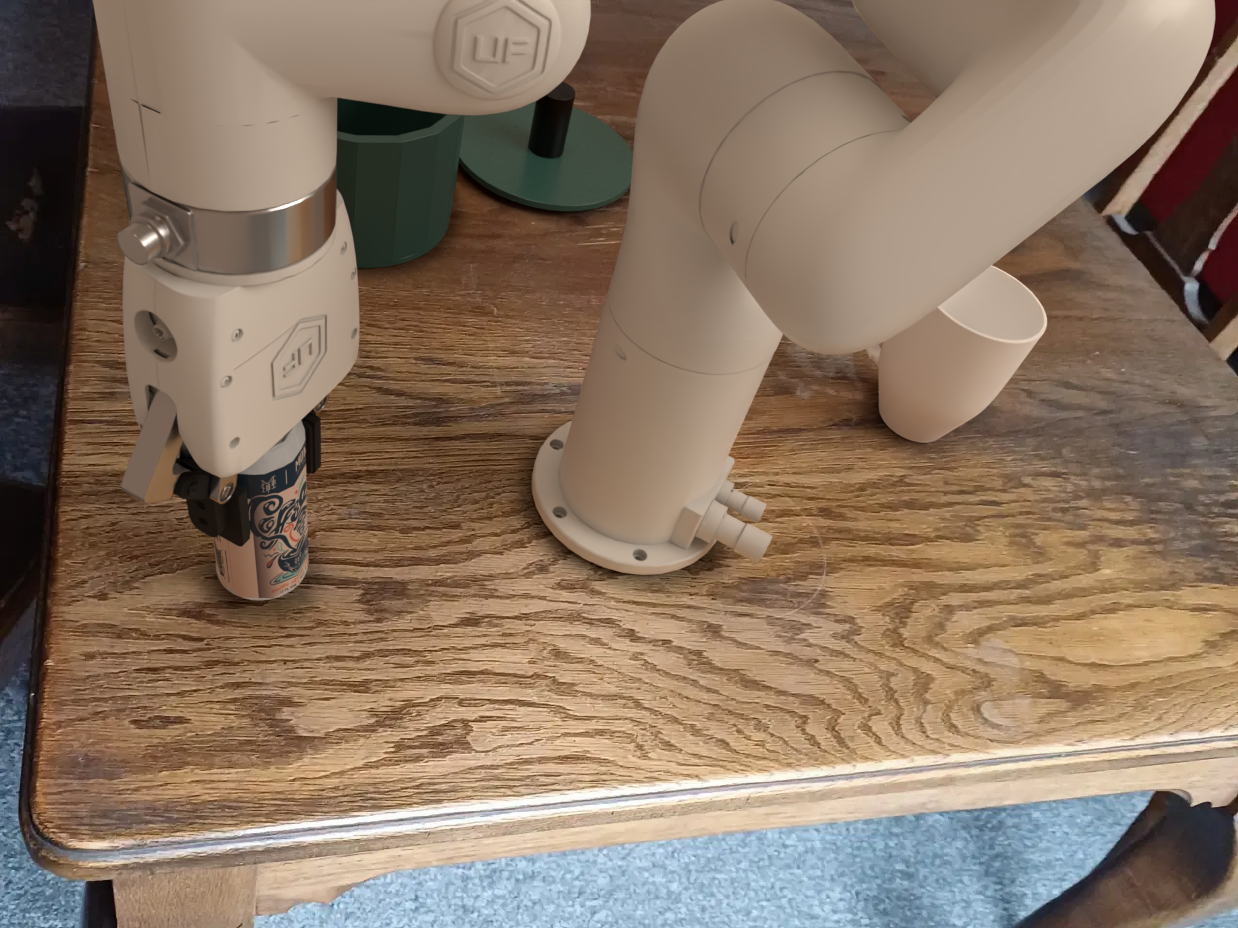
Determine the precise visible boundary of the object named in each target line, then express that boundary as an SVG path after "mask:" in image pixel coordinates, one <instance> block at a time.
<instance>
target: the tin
mask: <svg viewBox="0 0 1238 928" xmlns="http://www.w3.org/2000/svg"><path fill="white" fill-rule="evenodd" d="M464 117H465V115H453V114H441V113H434V112H426V111H420V110H413V109H407V108H401V107H395V106H389V105H383V104H376V103H370V102H363V101H356V100H350V99H343V98H337V154H336V156H337V190H338V191H339V192H340V194H341V196H342V198H343V201H344V204H345V207H346V210H347V214H348V217H349V222H350V226H351V231H352V235H353V241H354V248H355V255H356V264H357V269H379V268H386V267H387V268H388V267H392V266H393V267H394V266H397V265H402V264H405V263H409V262H411V261H413V260H416V259H418V258H420V257H422V256H424V255H426V254H428V253H429V252H430V251H432V250H433V249H434V248H436V247H437V245H439V244H440V242H441V241H443V238H444V237H445V236H446V234H447V232H448V229H449V226H450V222H451V221H450V220H451V217H452V213H453V210H454V209H453V208H454V200H455V193H456V185H457V179H458V172H459V171H458V170H459V155H460V148H461V140H462V132H463V125H464Z"/></svg>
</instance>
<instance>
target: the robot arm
mask: <svg viewBox="0 0 1238 928" xmlns="http://www.w3.org/2000/svg"><path fill="white" fill-rule="evenodd" d="M850 2H851V4H852V6H853V8H854V10H855V11H856V13H857V14H858V15H859V16H860V18H861V19H862V21H863V22H864V23H865V24H866V25H867V27H868V28H869V29H870V31H871V32H872V33H873V34H874V35H875V37H877V39H878V40H879V41H880V42H881V44H883V45H884V47H885V48H886V49H887V50H888V51H889V52H890V53H891V54H892V55H893V56H894V57H895V59H897V60H898V61H899V62H900V63H901V64H902V65H903V67H904V68H905V69H907V70H908V72H909V73H911V74H912V75H913V77H915V79H917V80H918V81H919V82H920V84H922V85H923V87H925V88H926V89H927V91H928V92H930V93H931V94H932V95H933V96H934V97H935V100H934V101H933V102H932V103H931V104H930V105H929V106H927V107H926V108H925V109H924V110H923V111H922V112H921V113H920V114H919V115H918V116H917V117H915V119H913V120H911V118H909V116H908V115H907V114H906V113H905V112H904V111H903V110H902V109H901V108H900V107H899V106H898V104H896V103H895V102H894V101H893V100H892V99H891V98H890V97H889V95H888V94H887V93H886V90H885V89H884V88H883V87H882V86H881V85H880V84H879V83H878V82H877V81H876V80H875V79H874V77H872V76H871V74H869V73H868V72H867V71H866V70H865V69H864V68H863V66H862V65H860V63H859V62H858V61H856V59H855V58H854V57H853V56H852V55H851V54H850V52H848V50H846V49H845V47H843V46H842V44H840V43H839V42H838V41H837V40H836V39H835V37H834V36H832V35H831V34H830V33H829V32H828V31H826V30H825V29H824V27H822V26H821V25H820V24H818V23H817V22H816V21H815V20H814V19H812V18H810V17H809V16H807V15H806V14H804V13H802V12H801V11H800V10H798V9H796V8H794V7H793V6H790V5H788V4H786V3H783V2H781V1H778V0H719V1H716V2H714V3H711V4H709V5H707V6H705V7H703V8H702V9H699V11H697V12H695V13H694V14H692V15H691V16H690V17H688V18H687V19H686V20H684V22H682V23H681V24H680V25H679V26H678V27H677V28H676V29H675V30H674V32H672V34H671V35H670V36H669V37H668V38H667V40H666V42H664V44H663V46H662V47H661V48H660V50H659V51H658V53H657V55H656V56H655V58H654V60H653V62H652V64H651V66H650V67H649V71H648V74H647V76H646V78H645V82H644V85H643V89H642V92H641V95H640V98H639V99H640V100H639V103H638V108H637V114H636V120H635V126H634V136H633V150H632V153H633V161H632V175H631V186H630V188H629V190H630V191H629V199H628V205H627V210H626V211H627V213H626V218H625V223H624V229H623V234H622V236H621V237H622V238H621V242H620V245H619V250H618V254H617V257H616V262H615V265H614V268H613V272H612V276H611V280H610V282H609V286H608V289H607V293H606V297H605V300H604V304H603V308H602V311H601V314H600V318H599V322H598V325H597V329H596V331H595V332H596V333H595V337H594V339H593V344H592V347H591V351H590V355H589V358H588V361H587V366H586V369H585V372H584V375H583V380H582V383H581V387H580V390H579V394H578V398H577V401H576V405H575V408H574V413H573V416H572V419H571V420H569V421H567V422H566V423H564V424H563V425H560V426H559V427H557V428H556V429H555V430H554V431H553V432H552V433H551V434H550V435H548V436H547V438H546V439H545V441H544V442H543V443H542V445H541V446H540V447H539V450H538V453H537V455H536V457H535V460H534V465H533V468H532V474H531V493H532V498H533V501H534V505H535V508H536V510H537V512H538V514H539V516H540V518H541V521H542V522H543V523H544V524H545V526H546V527H547V529H548V530H549V531H550V532H551V533H552V535H553V536H554V537H555V538H556V539H557V540H558V541H559V542H560V543H561V544H563V545H564V546H565V547H566V548H567V549H568V550H570V551H571V552H573V553H574V554H576V555H578V556H580V557H581V558H582V559H584V560H586V561H588V562H591V563H593V564H595V565H597V566H599V567H601V568H604V569H608V570H612V571H614V572H615V571H616V572H619V573H622V574H629V575H630V574H631V575H639V576H640V575H641V576H645V575H662V574H667V573H672V572H675V571H679V570H681V569H684V568H686V567H688V566H690V565H692V564H695V563H696V562H697V561H699V560H700V559H701V558H703V557H704V556H705V555H707V553H708V552H709V551H710V550H711V549H712V547H713V546H714V545H715V544H716V543H717V541H718V542H719V543H721V544H723V545H725V546H727V547H729V548H731V549H732V552H735V553H736V554H738V555H740V556H742V557H744V558H745V559H747V560H750V561H751V562H754V563H756V564H758V565H759V564H760V563H761V560H762V559H763V557H764V555H765V553H766V551H767V549H768V548H769V546H770V543H771V541H772V539H774V535H772V534H770V533H768V532H766V531H764V530H762V529H760V528H758V527H757V526H755V525H753V524H751V523H749V522H747V523H745V522H744V521H742V520H740V519H738V518H736V517H734V516H732V515H730V514H729V513H728V509H729V510H732V511H734V512H736V513H738V514H739V516H741V517H743V518H745V519H747V520H749V521H751V522H753V523H754V524H758V523H759V521H760V519H761V518H762V515H763V514H764V511H765V510H766V508H767V506H768V504H767V503H765V502H763V501H760V500H759V499H757V498H756V497H754V496H751V495H747V494H745V493H743V492H742V491H739V490H738V489H735V488H734V487H735V485H736V484H735V483H734V482H732V481H731V480H729V479H728V477H729V475H730V473H731V471H732V469H733V466H734V464H735V463H736V459H735V458H733V457H732V456H730V455H729V454H730V452H731V450H732V448H733V445H734V443H735V441H736V439H737V437H738V435H739V431H740V430H741V428H742V425H743V424H744V421H745V419H746V416H747V414H748V413H749V410H750V408H751V406H752V403H753V401H754V399H755V397H756V394H757V392H758V390H759V388H760V385H761V384H762V381H763V379H764V376H765V374H766V372H767V369H768V367H769V365H770V363H771V361H772V359H773V356H774V355H775V353H776V351H777V349H778V347H779V345H780V343H781V340H782V338H783V336H785V338H787V339H788V340H789V341H791V342H792V343H794V344H795V345H796V346H798V347H801V348H803V349H805V350H807V351H809V352H812V353H817V354H821V355H826V356H843V355H849V354H855V353H858V352H861V351H864V350H865V349H868V348H870V347H873V346H875V345H878V344H879V345H880V344H883V343H884V341H886V340H888V339H890V338H892V337H893V336H895V335H897V334H898V333H900V332H902V331H904V330H905V329H907V328H909V327H910V326H912V325H913V324H915V323H916V322H917V321H919V320H920V319H922V318H923V317H925V316H926V315H927V314H929V313H930V312H932V311H933V310H934V309H935V308H937V307H938V306H939V305H941V304H942V303H943V302H945V301H946V300H947V299H949V298H950V297H951V296H953V295H954V294H955V293H957V292H958V291H959V290H961V289H962V288H963V287H964V286H966V285H967V284H968V283H970V282H971V281H972V280H973V279H975V278H976V277H977V276H979V275H980V274H981V273H982V272H984V271H985V270H986V269H988V268H989V267H990V266H991V265H992V266H994V264H996V263H997V262H998V261H999V260H1001V259H1002V258H1003V257H1004V256H1006V255H1007V254H1008V253H1010V252H1011V251H1013V250H1014V249H1015V248H1017V247H1018V246H1019V245H1020V244H1021V243H1022V242H1024V241H1025V240H1026V239H1028V238H1029V237H1030V236H1032V235H1033V234H1034V233H1035V232H1037V231H1038V230H1039V229H1041V228H1042V227H1044V225H1045V224H1047V223H1049V222H1050V221H1051V220H1052V219H1054V218H1055V217H1056V216H1057V215H1058V214H1060V213H1061V212H1063V211H1064V210H1065V209H1066V208H1067V207H1069V206H1071V205H1072V204H1073V203H1074V202H1076V201H1077V200H1078V199H1079V198H1080V197H1081V196H1083V195H1084V194H1085V193H1087V192H1088V191H1089V190H1091V189H1092V188H1094V187H1095V186H1096V185H1097V184H1099V183H1100V182H1101V181H1102V180H1104V179H1105V178H1106V177H1107V176H1108V175H1110V174H1111V173H1112V172H1113V171H1114V170H1115V169H1117V168H1118V167H1119V166H1120V165H1121V164H1122V163H1124V162H1125V161H1126V160H1127V159H1128V158H1130V157H1131V156H1132V155H1133V154H1134V153H1135V152H1137V150H1139V149H1140V148H1141V147H1142V146H1143V145H1144V144H1145V143H1146V142H1147V141H1148V140H1149V139H1150V138H1152V136H1153V135H1154V134H1155V133H1156V132H1157V130H1159V128H1160V127H1161V126H1162V125H1163V124H1164V123H1165V122H1166V121H1167V119H1168V118H1169V117H1170V116H1171V114H1172V113H1173V112H1174V111H1175V109H1177V107H1178V105H1179V104H1180V102H1181V101H1182V99H1183V98H1184V96H1185V95H1186V93H1187V92H1188V91H1189V89H1190V87H1192V85H1193V83H1194V82H1195V80H1196V78H1197V76H1198V74H1199V73H1200V70H1201V69H1202V67H1203V64H1204V62H1205V61H1206V57H1207V54H1208V52H1209V49H1210V47H1211V43H1212V40H1213V36H1214V30H1215V24H1216V2H1215V0H850ZM92 4H93V10H94V16H95V21H96V28H97V34H98V40H99V45H100V51H101V57H102V64H103V70H104V76H105V81H106V87H107V88H106V89H107V94H108V101H109V105H110V107H109V108H110V112H111V118H112V125H113V130H114V137H115V142H116V149H117V153H118V158H119V164H120V170H121V176H122V182H123V188H124V194H125V201H126V206H127V212H128V219H129V225H128V226H126V227H125V228H123V229H121V230H119V232H118V233H117V234H116V242H117V245H118V247H119V249H120V251H121V252H122V254H123V255H124V258H123V259H124V260H123V261H124V262H123V274H122V333H123V334H122V335H123V349H124V359H125V368H126V375H127V383H128V389H129V396H130V401H131V404H132V408H133V413H134V416H135V420H136V422H137V425H138V427H139V430H140V432H139V435H138V437H137V440H136V442H135V446H134V448H133V450H132V452H131V456H130V459H129V460H128V464H127V465H126V466H127V467H126V469H125V471H124V474H123V477H122V480H121V483H120V489H121V490H122V491H123V492H125V493H126V494H128V495H130V496H131V497H133V498H136V499H137V500H139V501H141V502H143V503H144V504H146V505H150V504H155V503H160V502H165V501H170V500H172V498H174V497H178V498H180V499H182V500H185V502H186V507H187V514H188V517H189V521H190V522H191V524H192V525H193V526H194V528H196V529H197V530H198V531H200V532H201V533H203V534H204V535H206V536H209V537H211V538H213V537H214V538H215V537H217V536H218V535H219V536H221V537H223V538H224V539H226V540H228V541H230V542H232V543H233V544H235V545H237V546H240V547H242V546H243V545H244V544H245V543H246V542H247V541H248V540H249V539H250V534H251V532H250V521H249V510H248V498H247V491H246V489H245V488H244V487H243V486H242V485H240V484H238V483H237V477H238V473H240V472H242V471H243V470H245V469H247V468H248V467H250V466H251V465H252V464H254V463H255V462H256V461H257V460H258V459H260V458H261V457H262V456H263V455H264V454H265V453H266V452H267V451H268V450H270V449H271V448H272V447H273V446H274V445H275V444H276V443H277V442H278V441H279V440H280V439H281V438H282V437H283V436H285V435H286V434H287V433H288V432H289V431H290V430H291V429H292V428H293V427H294V426H295V425H296V424H297V423H298V422H299V421H302V424H303V426H304V429H305V443H306V475H314V474H315V473H316V472H317V471H318V470H320V468H321V467H322V417H320V416H318V415H317V414H319V413H321V412H322V411H323V410H324V409H325V408H326V406H327V404H328V401H329V399H330V393H331V392H332V391H333V390H334V389H335V388H336V387H337V386H338V385H339V384H340V383H341V382H342V381H343V380H344V378H346V377H347V375H348V374H349V373H350V371H351V370H352V369H353V367H354V365H355V363H356V361H357V360H358V355H359V349H360V328H361V327H360V298H359V297H360V293H359V276H358V268H357V264H356V255H355V248H354V241H353V235H352V231H351V226H350V222H349V217H348V214H347V210H346V207H345V204H344V201H343V198H342V196H341V194H340V192H339V191H338V190H337V156H336V154H337V98H343V99H350V100H356V101H363V102H370V103H376V104H383V105H389V106H395V107H401V108H407V109H413V110H420V111H426V112H434V113H441V114H453V115H487V114H496V113H502V112H507V111H511V110H514V109H518V108H521V107H524V106H526V105H528V104H530V103H533V102H535V101H537V100H539V99H540V98H542V97H543V96H545V95H547V94H548V93H549V92H551V91H552V90H553V89H554V88H556V87H557V86H558V85H559V84H560V83H561V82H562V81H563V82H564V80H565V79H566V78H567V77H568V76H569V74H570V73H571V72H572V71H573V69H574V67H575V66H576V64H577V63H578V62H579V60H580V58H581V56H582V53H583V50H584V49H585V46H586V43H587V39H588V35H589V32H590V31H589V30H590V24H591V17H592V9H591V8H592V6H591V5H592V4H591V0H92ZM865 351H866V350H865Z"/></svg>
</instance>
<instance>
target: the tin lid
mask: <svg viewBox="0 0 1238 928" xmlns="http://www.w3.org/2000/svg"><path fill="white" fill-rule="evenodd" d="M575 99H576V90H575V89H574V86H572V85H571V84H569V83H567V82H565V81H564V80H563V81H562V82H561V83H560V84H559V85H558V86H557V87H556V88H554V89H553V90H552V91H551V92H549V93H548V94H547V95H545V96H543V97H542V98H540V99H539V100H537V101H535V102H533V103H530V104H528V105H526V106H524V107H521V108H518V109H514V110H511V111H507V112H502V113H496V114H487V115H465V117H464V125H463V132H462V140H461V148H460V155H459V163H458V165H460V166H461V168H462V169H463V171H464V172H466V174H467V175H468V176H469V177H470V178H471V179H473V180H474V181H475V182H477V184H479V185H480V186H481V187H484V188H485V189H487V190H489V191H490V192H492V193H494V194H496V195H498V196H500V197H501V198H504V199H506V200H508V201H512V202H513V203H517V204H520V205H523V206H527V207H531V208H535V209H541V210H544V211H545V210H546V211H554V212H556V211H557V212H583V211H588V210H589V211H590V210H595V209H599V208H603V207H605V206H608V205H610V204H613V203H614V202H616V201H617V200H619V199H620V198H622V197H623V196H624V195H626V193H627V192H628V191H629V190H630V188H631V175H632V161H633V150H632V148H631V147H630V146H629V144H628V142H627V141H626V140H625V139H624V138H623V136H622V135H621V134H620V133H619V132H618V131H616V130H615V129H614V128H613V127H612V126H611V125H609V124H608V123H606V122H604V121H603V120H602V119H600V118H598V117H597V116H595V115H593V114H591V113H589V112H587V111H585V110H582V109H580V108H578V107H576V106H574V104H575Z"/></svg>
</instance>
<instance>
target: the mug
mask: <svg viewBox="0 0 1238 928" xmlns="http://www.w3.org/2000/svg"><path fill="white" fill-rule="evenodd" d="M1047 326H1048V317H1047V314H1046V310H1045V308H1044V306H1043V304H1042V303H1041V301H1040V300H1039V298H1038V297H1037V296H1036V295H1035V294H1034V293H1033V291H1032V290H1031V289H1030V288H1028V287H1027V286H1026V285H1025V284H1024V283H1022V282H1021V281H1020V280H1018V279H1017V278H1016V277H1014V276H1013V275H1011V274H1010V273H1008V272H1006V271H1004V270H1002V269H1000V268H998V267H997V266H994V265H991V266H990V267H989V268H988V269H986V270H985V271H984V272H982V273H981V274H980V275H979V276H977V277H976V278H975V279H973V280H972V281H971V282H970V283H968V284H967V285H966V286H964V287H963V288H962V289H961V290H959V291H958V292H957V293H955V294H954V295H953V296H951V297H950V298H949V299H947V300H946V301H945V302H943V303H942V304H941V305H939V306H938V307H937V308H935V309H934V310H933V311H932V312H930V313H929V314H927V315H926V316H925V317H923V318H922V319H920V320H919V321H917V322H916V323H915V324H913V325H912V326H910V327H909V328H907V329H905V330H904V331H902V332H900V333H898V334H897V335H895V336H893V337H892V338H890V339H888V340H886V341H884V342H882V345H880V344H878V345H875V346H873V347H870V348H868V349H865V353H866V354H867V357H868V358H869V359H870V360H872V361H873V362H874V364H875V365H876V366H877V368H878V369H877V370H878V371H877V374H878V412H879V415H880V417H881V419H882V421H883V422H884V423H885V425H886V426H887V427H888V428H889V429H890V430H891V431H893V432H894V433H895V434H896V435H899V437H902V438H904V439H906V440H909V441H911V442H915V443H923V444H928V443H929V444H930V443H933V442H935V441H938V440H939V439H941V438H942V437H944V436H945V435H947V434H949V433H950V432H952V431H953V430H955V429H957V428H959V427H960V426H962V425H964V424H966V423H967V422H968V421H970V420H972V419H973V418H975V417H977V416H978V415H979V414H981V413H982V412H983V411H984V410H985V409H987V408H988V406H989V405H990V404H991V403H992V402H993V401H994V400H995V399H996V397H998V395H999V394H1000V392H1001V391H1002V390H1003V389H1004V388H1005V386H1006V385H1007V384H1008V382H1009V381H1010V380H1011V378H1013V375H1014V374H1015V373H1016V372H1017V370H1018V369H1019V368H1020V366H1021V365H1022V363H1024V360H1025V359H1026V358H1027V357H1028V355H1029V353H1030V352H1032V350H1033V348H1034V347H1035V346H1036V344H1037V343H1038V341H1039V340H1040V339H1041V338H1042V336H1043V335H1044V333H1045V332H1046V330H1047Z"/></svg>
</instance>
